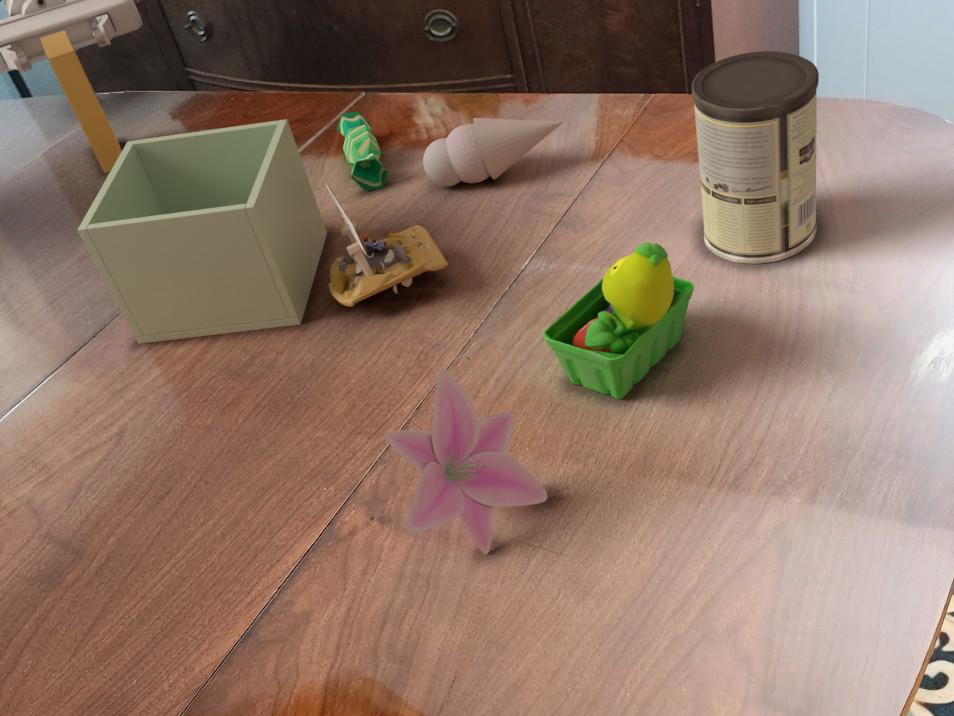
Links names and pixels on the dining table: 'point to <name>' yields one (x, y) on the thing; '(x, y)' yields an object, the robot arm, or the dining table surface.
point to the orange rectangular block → (82, 98)
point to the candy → (362, 151)
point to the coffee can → (757, 155)
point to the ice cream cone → (482, 149)
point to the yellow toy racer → (380, 261)
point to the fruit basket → (622, 323)
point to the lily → (463, 466)
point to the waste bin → (207, 232)
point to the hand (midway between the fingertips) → (63, 52)
